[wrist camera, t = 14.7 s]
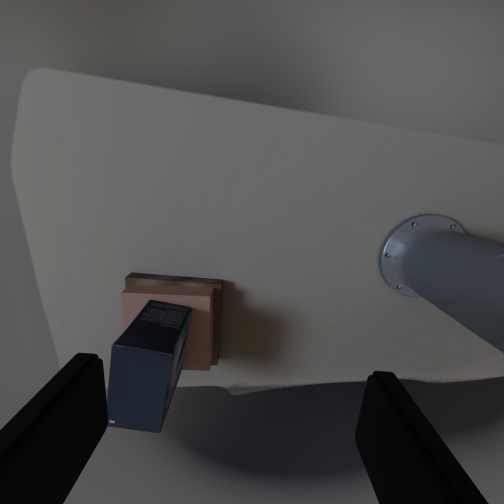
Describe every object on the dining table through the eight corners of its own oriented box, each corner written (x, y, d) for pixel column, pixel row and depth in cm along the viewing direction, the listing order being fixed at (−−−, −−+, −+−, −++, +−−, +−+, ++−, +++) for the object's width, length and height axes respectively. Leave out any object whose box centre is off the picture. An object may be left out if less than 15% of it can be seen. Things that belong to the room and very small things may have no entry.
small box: (184, 370, 39) (161, 437, 29) (140, 362, 39) (101, 428, 29) (195, 307, 36) (174, 356, 26) (147, 298, 36) (107, 345, 26)
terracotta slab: (213, 287, 39) (210, 296, 36) (212, 357, 42) (209, 370, 39) (130, 284, 39) (121, 292, 36) (136, 354, 42) (128, 367, 39)
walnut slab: (223, 277, 42) (221, 284, 39) (219, 353, 45) (217, 365, 42) (134, 270, 41) (125, 277, 38) (137, 347, 45) (129, 359, 42)
